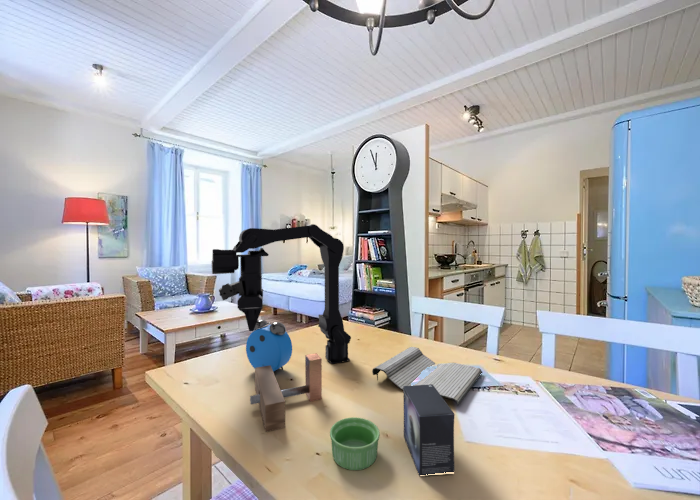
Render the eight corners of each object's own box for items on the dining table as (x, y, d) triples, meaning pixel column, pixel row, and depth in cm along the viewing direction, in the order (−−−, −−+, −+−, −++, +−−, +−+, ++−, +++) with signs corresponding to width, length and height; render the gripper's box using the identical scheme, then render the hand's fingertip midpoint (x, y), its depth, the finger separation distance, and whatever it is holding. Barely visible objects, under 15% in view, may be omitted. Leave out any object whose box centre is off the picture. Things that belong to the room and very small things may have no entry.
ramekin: (383, 472, 51) (383, 446, 51) (330, 475, 50) (330, 449, 50) (375, 438, 60) (375, 416, 60) (329, 440, 59) (329, 418, 59)
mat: (458, 412, 70) (458, 391, 69) (371, 383, 84) (371, 366, 83) (483, 376, 88) (483, 360, 88) (408, 358, 102) (408, 344, 102)
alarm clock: (293, 370, 91) (293, 321, 91) (280, 379, 85) (280, 326, 85) (259, 363, 96) (258, 316, 96) (244, 370, 91) (244, 320, 90)
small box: (401, 436, 60) (401, 384, 60) (433, 435, 61) (433, 383, 60) (417, 478, 49) (417, 414, 49) (456, 475, 50) (456, 412, 50)
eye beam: (270, 385, 81) (270, 365, 81) (285, 427, 63) (285, 401, 63) (255, 388, 80) (255, 367, 80) (265, 432, 61) (265, 405, 61)
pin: (316, 391, 78) (316, 353, 78) (321, 398, 74) (321, 358, 74) (249, 405, 72) (249, 363, 71) (251, 414, 68) (251, 369, 68)
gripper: (225, 270, 93) (226, 320, 94) (215, 277, 75) (216, 339, 76) (262, 269, 96) (263, 317, 97) (262, 275, 78) (263, 335, 79)
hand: (252, 326), depth 87 cm, fingers open, 9 cm apart
